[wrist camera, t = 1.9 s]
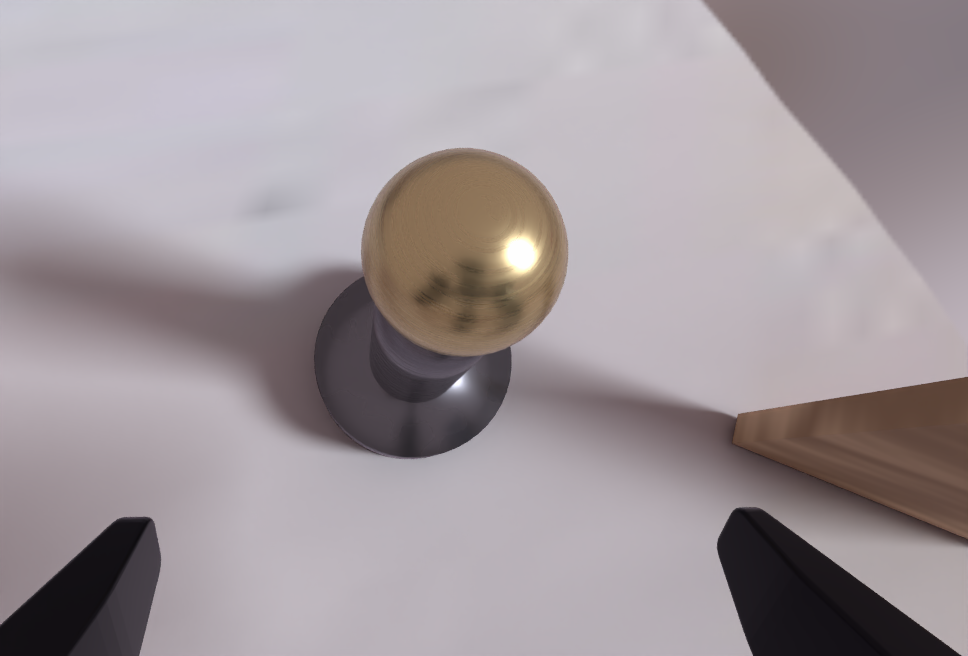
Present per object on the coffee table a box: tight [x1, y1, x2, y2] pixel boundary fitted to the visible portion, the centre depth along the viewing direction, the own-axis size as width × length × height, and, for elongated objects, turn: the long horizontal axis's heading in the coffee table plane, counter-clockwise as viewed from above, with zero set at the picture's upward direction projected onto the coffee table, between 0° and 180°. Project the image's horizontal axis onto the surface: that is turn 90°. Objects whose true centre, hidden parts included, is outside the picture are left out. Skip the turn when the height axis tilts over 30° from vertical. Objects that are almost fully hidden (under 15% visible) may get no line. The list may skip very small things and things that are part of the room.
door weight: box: [314, 148, 568, 459], centre depth 15 cm, size 6×6×13 cm
